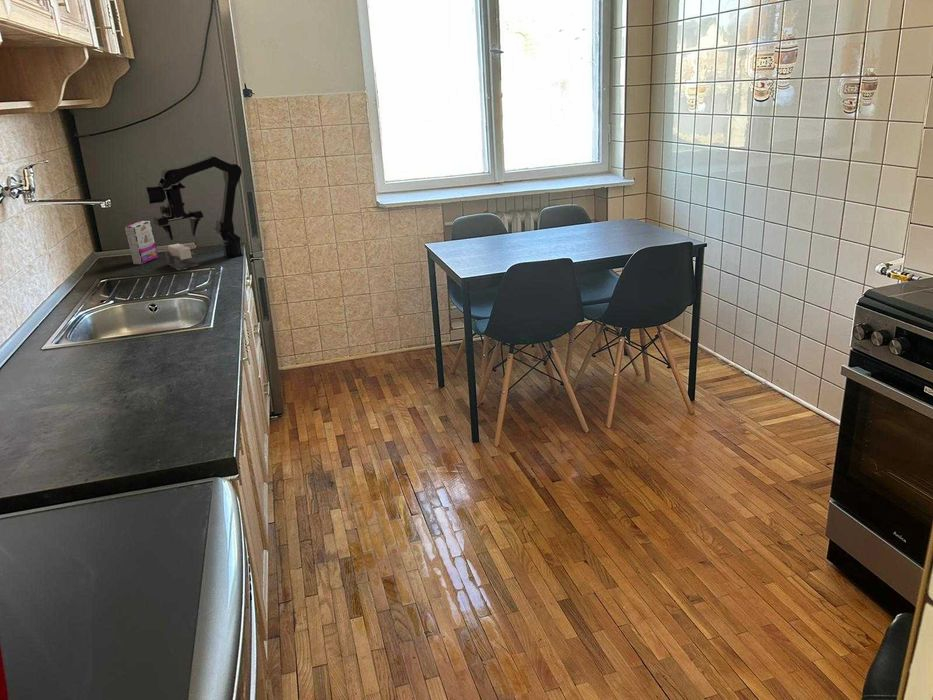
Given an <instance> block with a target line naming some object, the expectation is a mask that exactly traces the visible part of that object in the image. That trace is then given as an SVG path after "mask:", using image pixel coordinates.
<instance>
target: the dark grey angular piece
mask: <svg viewBox="0 0 933 700" xmlns="http://www.w3.org/2000/svg"><path fill="white" fill-rule="evenodd" d="M164 255H165V260H166V262H165V264H166V265H167V264H168V265H171V266H173V267H175V268H177V269H184V268H190V267H194V266H199V264H198V262H197V257H196V253H195V252H193V251H191V256H192V258H188V259H183V260H180V259H179V257H178V256H171V255H170V253H169V251H165V252H164ZM168 265H167V266H168ZM171 266H170V267H171ZM173 267H172V268H173ZM175 268H174V269H175ZM194 268H195V267H194ZM177 269H176V270H177ZM190 269H191V268H190Z"/></svg>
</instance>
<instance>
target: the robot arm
mask: <svg viewBox="0 0 933 700" xmlns="http://www.w3.org/2000/svg"><path fill="white" fill-rule="evenodd" d="M211 168H216V169H218V170H220V171H222V172H223V180H224V192H223V201H222V208H221V217H220V219H219V220H216V221H215V228H214V230H215V231H216V232H215V233H216V236H217V237H219V238H220V239H221V240H222V241H223V242H222V243H223V244H222V245H223V246H222V251H223V256H224V257H226V258H229V259H231V258H237V257H241V256H244V255H245V254H244V253H243V252H242V247H241V237H240V236H238V234H236V233H235V226H234V222H233V216H234V206H235V200H236V199H235V198H236V189H237V185H238V183H239V182H240V179H241V176H242V172H243V171H242V168H241V167H240V166H239V164H236V163H232V162H226V161H224V160H222V159H220V158H219V157H218V156H214V155H209V156H208V157H205V158H203V159H200V160H197V161H194V162H191V163H188V164H185V165H183V166H174V167H167V168H164V169H162V170H161V173H160V177H161V178H160V180H159V181H158V183H157V185H154V186H145V187H144V188H145V198H146V202H147V204H148V205H153V204H155V205H156V204H161V203H165V201H166V199H167V203H166V206H167V207H166V206H165V205H161V206H160V207H159V212H160V214H161V215H159V216H155V217H153V224H154V225H156V226H159V227H161V228H162V229H163V230H164V231H165V233H166V234H167V236H168V237H169V239H170V241H174V239H173V233H172V228H171V225H170V224H169V222H175V221H180V220H185V219H188V220H189V223H190V230H191V236H193V237H195V235H196V231H197V227H198V226H199V221H201V220H202V218H204V213H203V211H202V210H199V209H192V210H188V212H186V211H185V202H184V201H183V197H182V190H183V189H185V188H186V186H185V185H183V184H182V182H181V181H183V180H184V179H185V178H187V177H189V176H192V175H194V174H197V173H199V172H202V171H205V170H208V169H211ZM164 215H165V216H164Z"/></svg>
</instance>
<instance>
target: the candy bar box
mask: <svg viewBox="0 0 933 700" xmlns="http://www.w3.org/2000/svg"><path fill="white" fill-rule="evenodd" d="M124 230H125V234H126V239H127V242H128V246H129V251H130V255H131V259H132V264H133V265H144V264H143V263H145V264H147V263H149V262H148V261H150V262H152V261H154V260H156V259H159V254H158V249H157V246H156V241H155V237H154V233H153V228H152V223H151V220H141V221H140V220H139V221H138V222H134V223H131V224H129V225H127V226H124ZM153 259H154V260H153ZM151 260H152V261H151ZM146 262H147V263H146Z"/></svg>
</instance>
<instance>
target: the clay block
mask: <svg viewBox="0 0 933 700" xmlns="http://www.w3.org/2000/svg"><path fill="white" fill-rule="evenodd" d="M167 247H168V252H169V253H170V255H171V256H178V257H179V259H180V260H183V259H188V258H192V256H191V252H192V251H191V247H188V246H186V245H183V244H180V243H174V244H168V245H167Z"/></svg>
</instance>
